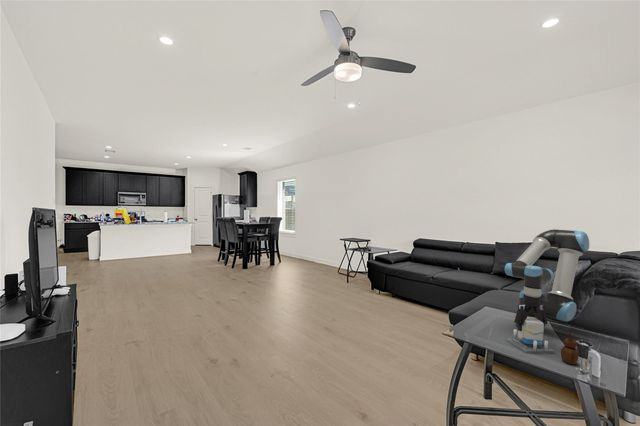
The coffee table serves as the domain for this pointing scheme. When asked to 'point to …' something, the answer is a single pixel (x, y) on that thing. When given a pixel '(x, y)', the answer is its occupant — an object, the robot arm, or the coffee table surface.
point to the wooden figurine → (569, 351)
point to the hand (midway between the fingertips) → (530, 336)
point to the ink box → (533, 331)
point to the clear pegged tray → (529, 345)
